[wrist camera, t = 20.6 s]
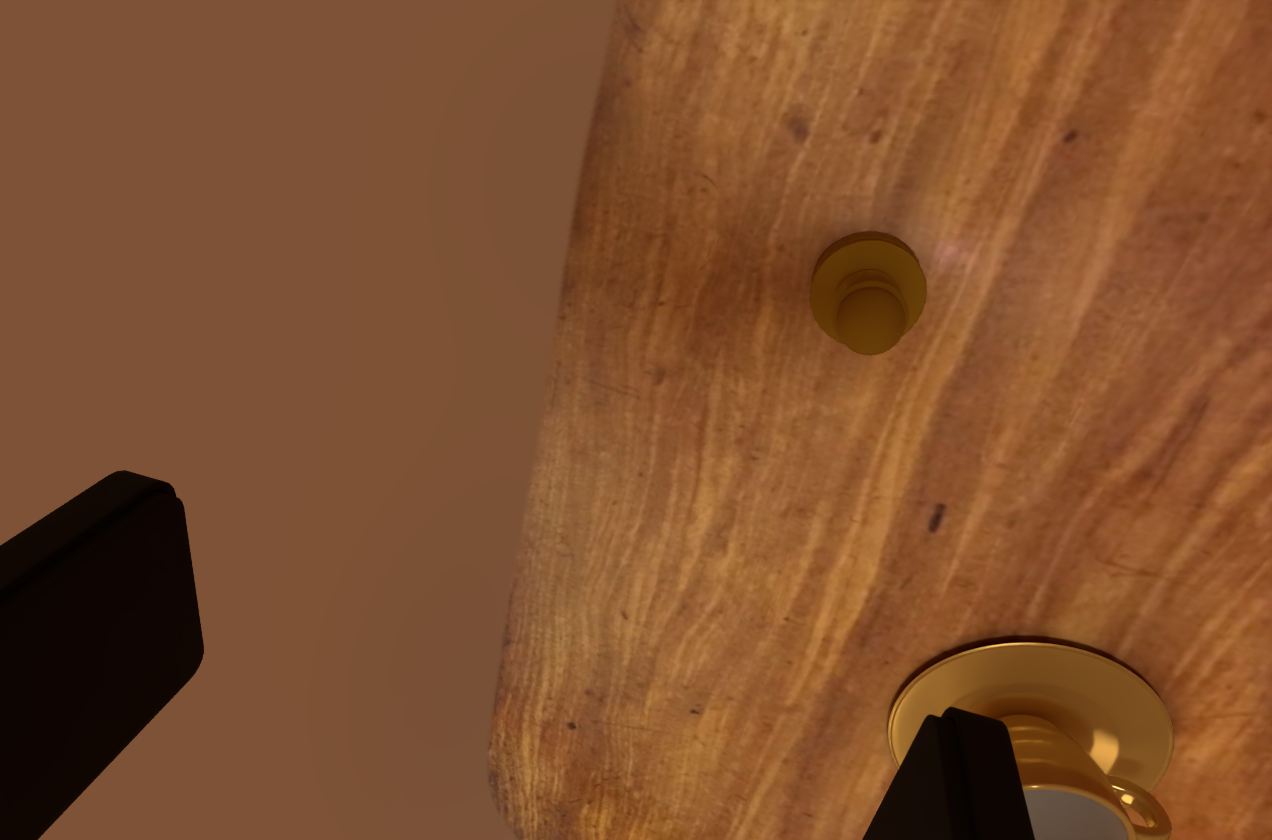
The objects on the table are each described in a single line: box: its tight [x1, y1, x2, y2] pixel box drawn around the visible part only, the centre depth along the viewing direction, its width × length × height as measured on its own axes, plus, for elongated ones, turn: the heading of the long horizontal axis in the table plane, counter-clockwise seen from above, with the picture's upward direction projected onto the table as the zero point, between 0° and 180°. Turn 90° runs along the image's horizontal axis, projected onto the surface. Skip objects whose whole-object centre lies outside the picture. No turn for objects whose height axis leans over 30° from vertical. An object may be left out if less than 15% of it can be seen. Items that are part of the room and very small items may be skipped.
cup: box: [888, 642, 1174, 840], centre depth 34 cm, size 12×12×5 cm
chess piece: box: [810, 232, 927, 355], centre depth 27 cm, size 4×4×5 cm
